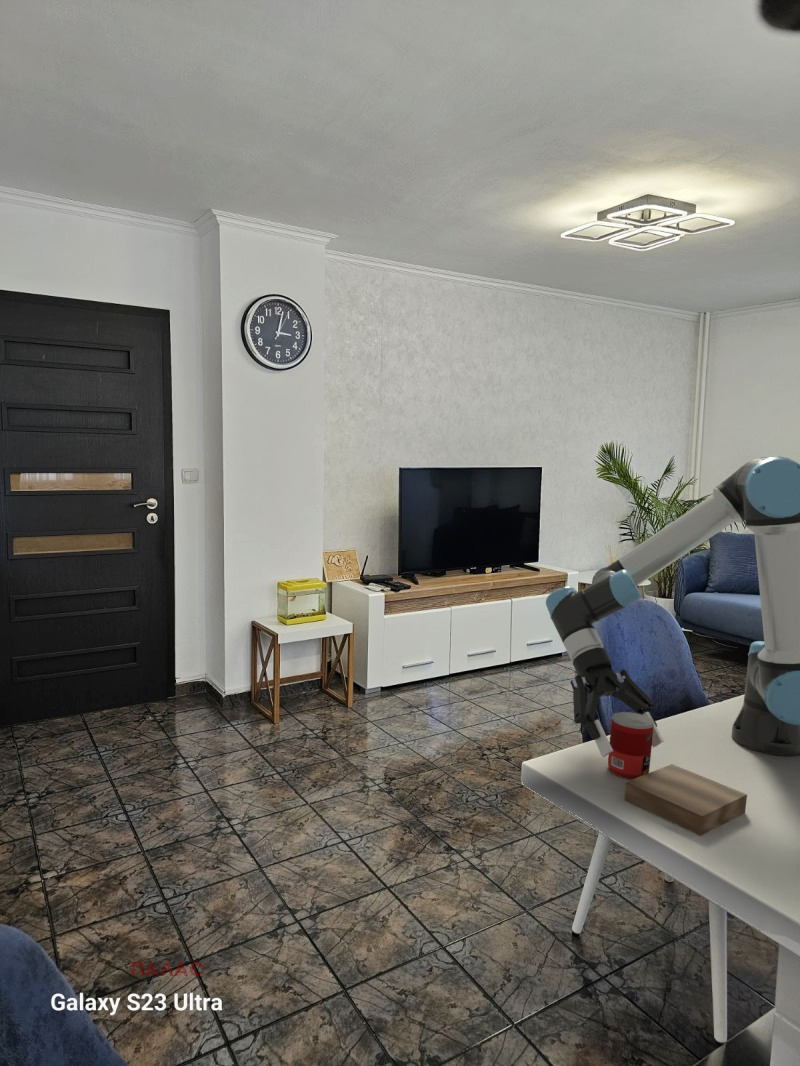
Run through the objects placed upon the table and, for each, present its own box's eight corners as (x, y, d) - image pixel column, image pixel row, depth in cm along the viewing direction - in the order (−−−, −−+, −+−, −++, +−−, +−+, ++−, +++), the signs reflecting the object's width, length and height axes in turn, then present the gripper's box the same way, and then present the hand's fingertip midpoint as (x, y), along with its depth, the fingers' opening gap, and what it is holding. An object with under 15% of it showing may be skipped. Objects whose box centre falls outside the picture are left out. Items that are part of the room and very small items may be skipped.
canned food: (651, 782, 146) (656, 727, 144) (608, 776, 147) (613, 722, 146) (646, 766, 153) (651, 714, 152) (606, 761, 155) (610, 709, 153)
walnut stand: (670, 781, 147) (671, 764, 146) (745, 812, 135) (747, 794, 135) (624, 800, 137) (625, 781, 137) (700, 836, 126) (702, 816, 125)
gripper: (621, 658, 168) (666, 748, 157) (532, 668, 157) (574, 766, 145) (641, 641, 163) (689, 732, 152) (550, 650, 151) (596, 750, 140)
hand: (633, 749), depth 148 cm, fingers open, 13 cm apart
